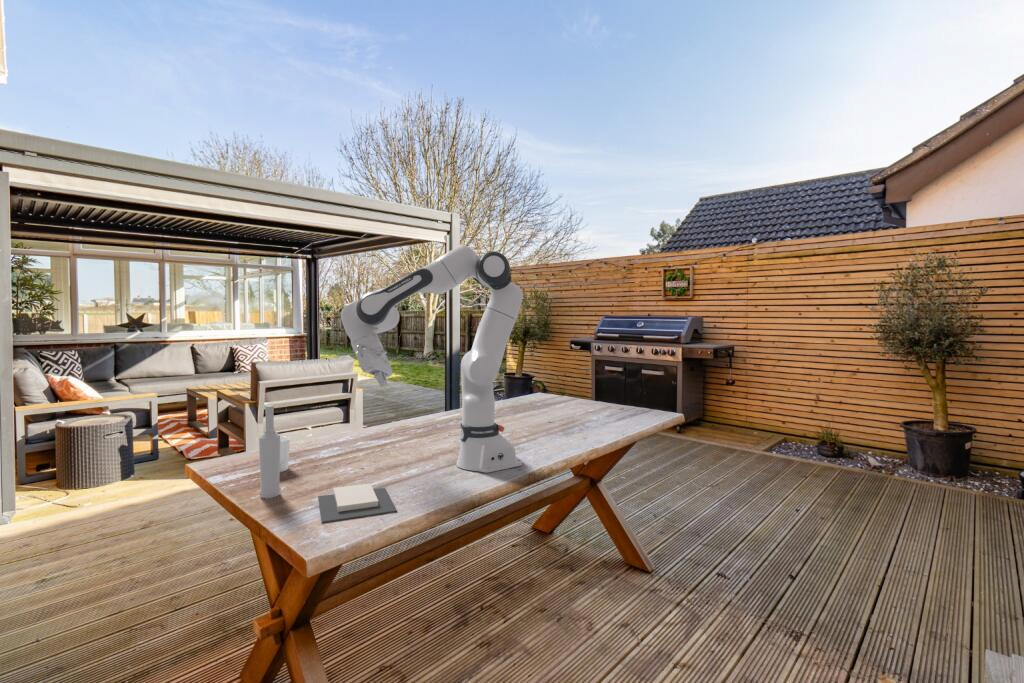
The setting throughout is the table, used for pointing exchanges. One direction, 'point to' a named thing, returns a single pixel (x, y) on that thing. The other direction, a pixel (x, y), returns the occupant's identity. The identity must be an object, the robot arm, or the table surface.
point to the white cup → (284, 452)
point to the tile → (355, 497)
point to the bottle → (269, 457)
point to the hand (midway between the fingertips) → (384, 386)
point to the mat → (332, 514)
